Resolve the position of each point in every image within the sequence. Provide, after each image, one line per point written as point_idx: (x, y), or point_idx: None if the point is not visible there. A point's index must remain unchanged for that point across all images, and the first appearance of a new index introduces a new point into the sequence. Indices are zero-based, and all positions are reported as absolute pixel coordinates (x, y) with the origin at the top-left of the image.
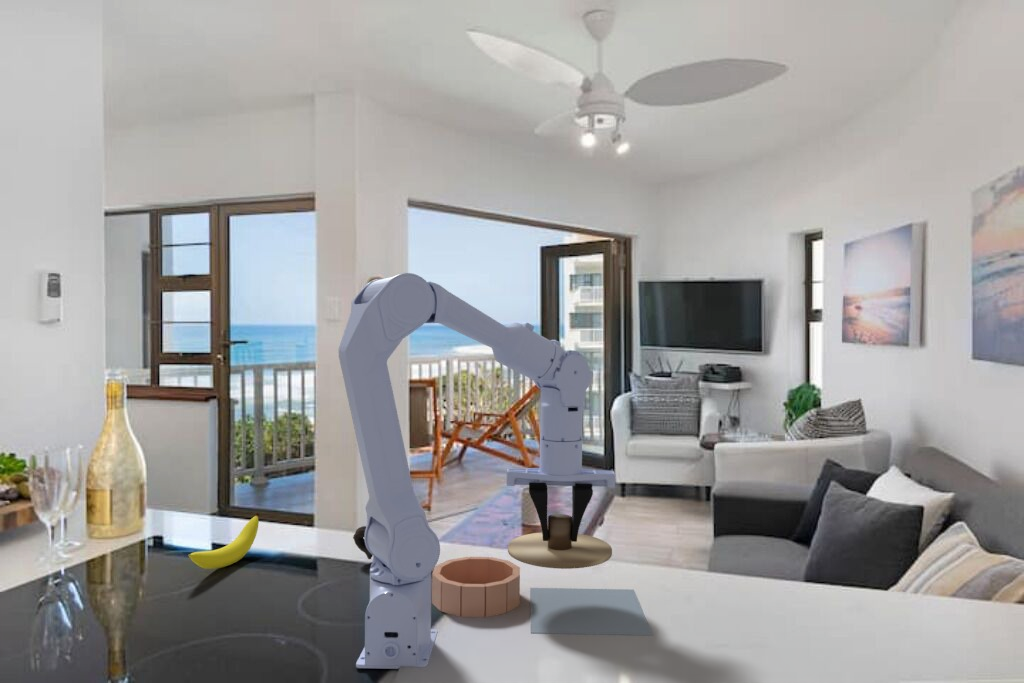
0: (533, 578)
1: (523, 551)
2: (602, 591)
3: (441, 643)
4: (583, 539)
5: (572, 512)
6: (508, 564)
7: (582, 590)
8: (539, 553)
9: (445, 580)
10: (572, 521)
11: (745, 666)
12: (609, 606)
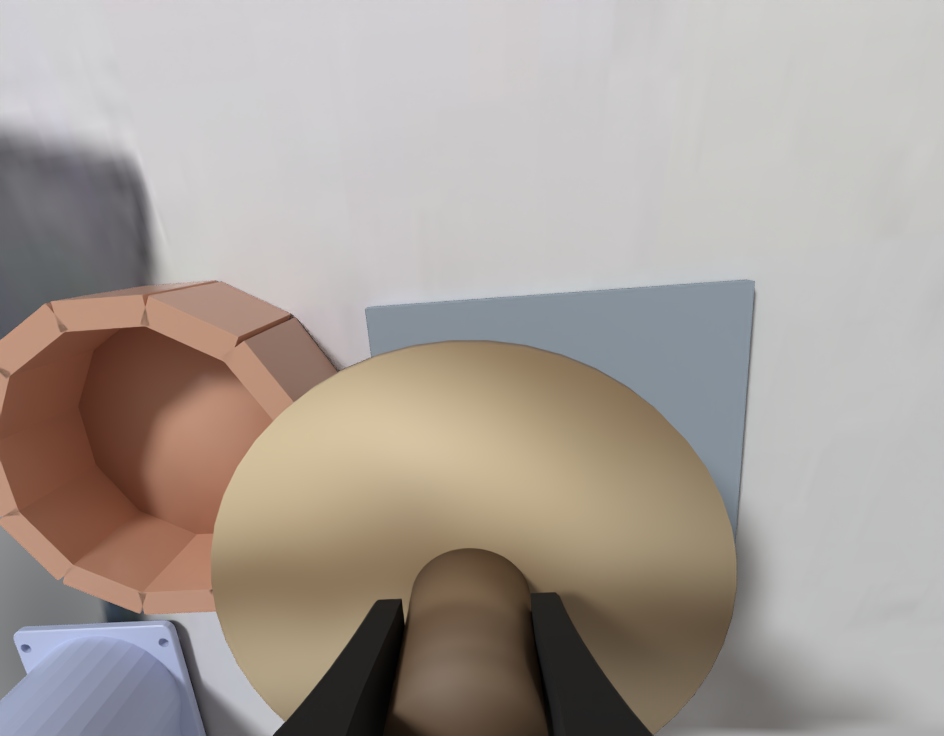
0: (363, 156)
1: (306, 676)
2: (631, 315)
3: (202, 655)
4: (601, 472)
5: (558, 712)
6: (249, 384)
7: (558, 314)
8: None
9: (69, 572)
10: (550, 727)
11: (907, 696)
12: None
